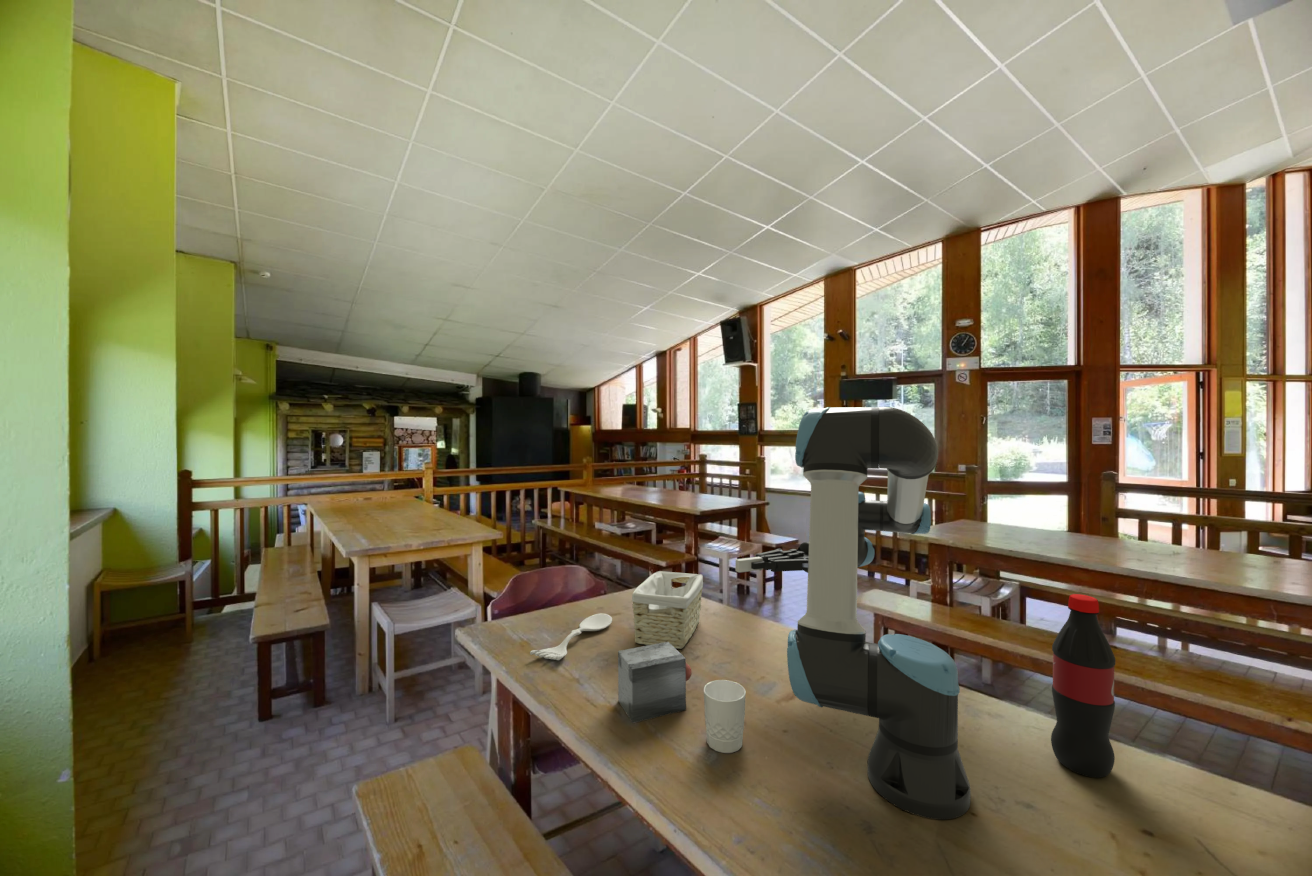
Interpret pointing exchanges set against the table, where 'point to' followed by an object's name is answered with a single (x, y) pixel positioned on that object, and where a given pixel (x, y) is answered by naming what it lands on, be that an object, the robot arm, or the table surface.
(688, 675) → the plunger
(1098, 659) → the cola bottle
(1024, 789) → the table surface
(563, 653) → the white plastic spork
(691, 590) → the storage basket
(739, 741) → the white cup
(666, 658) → the block
